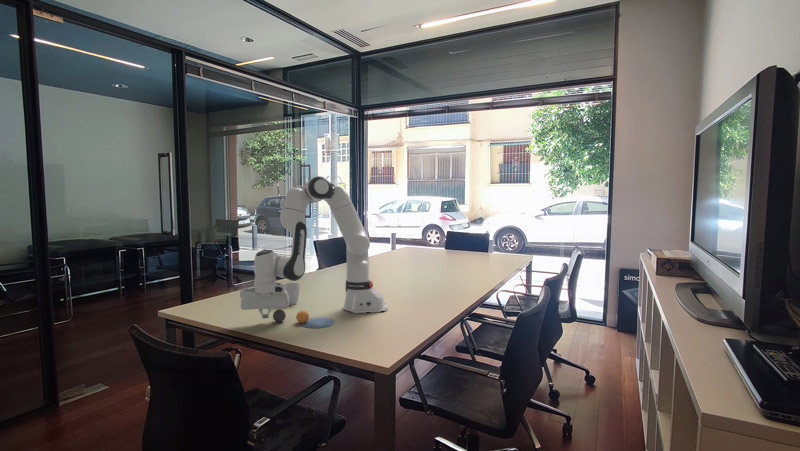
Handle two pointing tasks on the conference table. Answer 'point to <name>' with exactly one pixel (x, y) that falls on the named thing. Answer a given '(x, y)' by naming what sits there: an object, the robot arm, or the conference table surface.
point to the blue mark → (318, 323)
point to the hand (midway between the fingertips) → (265, 318)
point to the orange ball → (302, 316)
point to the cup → (293, 292)
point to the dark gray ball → (279, 315)
